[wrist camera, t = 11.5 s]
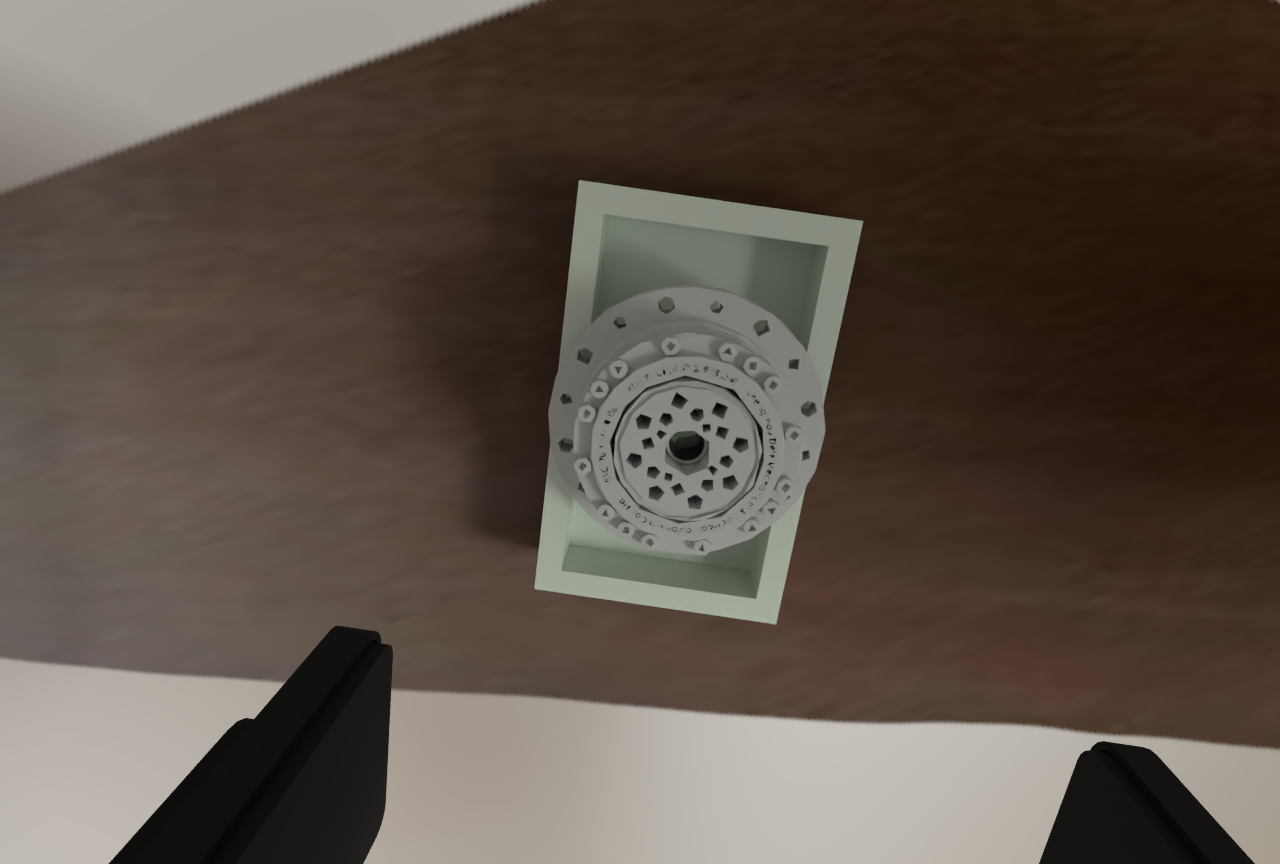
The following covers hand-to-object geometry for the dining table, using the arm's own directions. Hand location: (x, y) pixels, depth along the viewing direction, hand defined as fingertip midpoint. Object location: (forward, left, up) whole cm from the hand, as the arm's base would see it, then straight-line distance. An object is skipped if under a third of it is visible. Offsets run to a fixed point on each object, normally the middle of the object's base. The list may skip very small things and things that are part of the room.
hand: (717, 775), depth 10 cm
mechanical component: (0, 0, -19) cm, 19 cm away
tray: (0, 0, -22) cm, 22 cm away
